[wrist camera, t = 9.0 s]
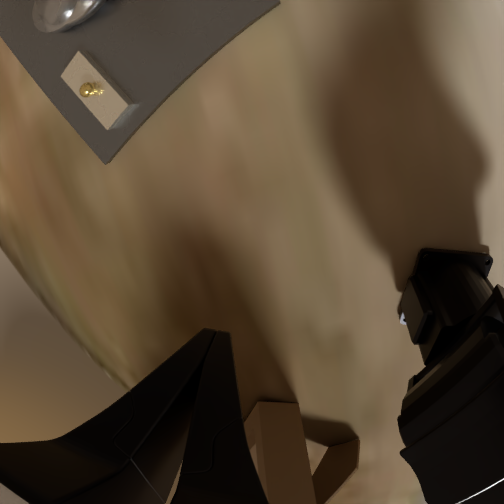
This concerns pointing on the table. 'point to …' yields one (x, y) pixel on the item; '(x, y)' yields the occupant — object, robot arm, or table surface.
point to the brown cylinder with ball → (63, 13)
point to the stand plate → (123, 58)
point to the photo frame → (294, 457)
